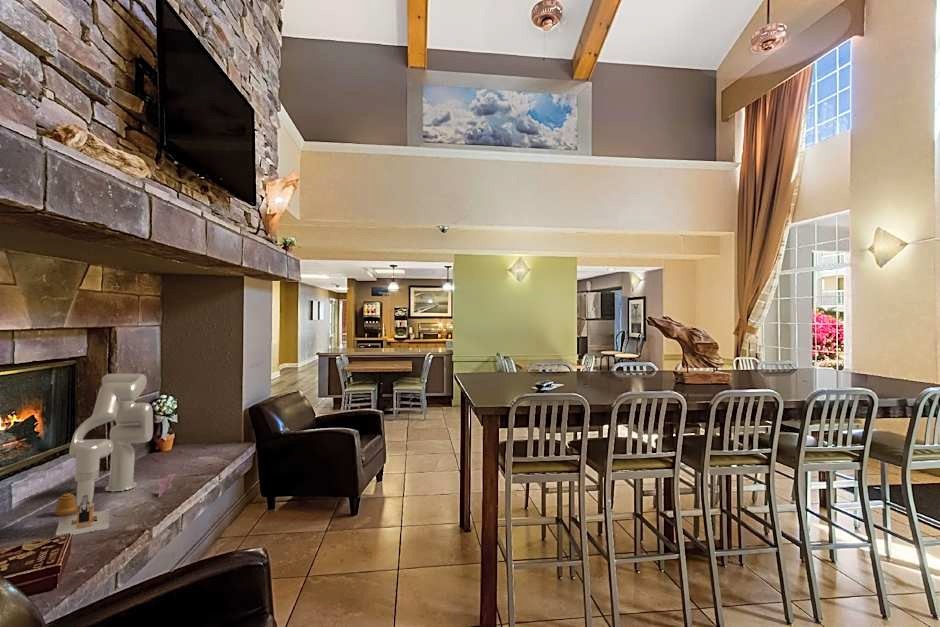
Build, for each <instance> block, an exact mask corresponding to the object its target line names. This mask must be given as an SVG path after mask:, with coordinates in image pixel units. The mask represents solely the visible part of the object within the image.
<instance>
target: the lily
mask: <svg viewBox="0 0 940 627" xmlns="http://www.w3.org/2000/svg"><path fill="white" fill-rule="evenodd" d="M176 474H177V473H173V474H172V472H170V473H169V474H168V475H167V477H166V478H161V479H160V480H159V481H158V486H159V488H158V489H157V491H156V492H155V494H156V495H157V494H158V498H159V497H160V498H161V497H162V495H163V493H164V492H165V490H168V489H173V491H174V492H176V490H175V489H174V487H173V486H172V480H173V479H174V477H175V476H176Z"/></svg>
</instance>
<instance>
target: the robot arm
mask: <svg viewBox="0 0 940 627" xmlns="http://www.w3.org/2000/svg"><path fill="white" fill-rule="evenodd" d="M147 383H148V380H147V376H146V375H145V374H143V373H107V374H105V375H104V376H103V377H102V378H101V384H102V385H101V386H100V387H99V390H98V393H97V398H96V400H95V404H94V408H93V411H92V415H91V416H90V417H89V418H87V419H85V420H84V421H83V422H82V423H81V424H80V425H79V426H78V427H77V428H76V429H75V431H74V433H73V436H72V439H71V442H70V445H69V450H68V452H69V456H70V457H71V459H75V470H74V471H75V472H74V482H77V488H76V498H75V505H76V507H78V506H80V512H79V523H81V522H87V521H89V514H90V511H89V504H91V503H93V499H94V493H95V492H94V491H95V484H96V483H95V482H96V481H95V480H97V479H99V478H100V477H99V476H100V459H103V458H106V457H108V456H109V455H110V463H109V465H110V466H109V467H110V468H109V482H108V485H106V487H104V491H105V492H107V491H122V492H125V491H124V490H127V491H130V490H129V489H131V490H133V489H135V488H137V486H138V484H137V482H136V481H134V475H135V474H134V473H135V459H136V457H135V456H136V455H135V454H136V452H135V448H134V447H133V445H132V444H138V443H139V444H141V443H142V444H143V443H148V442H150V441H151V440H152V438H153V437H154V436H153V434H154V412H153V406H152V404H150V403H149V402H135V401H136V400H137V399H138V398H139V397H140V395H141V394H142V393H143V392H144V390H145V389H146V386H147ZM112 421H114V422H116V423H119V424H116V425H114V426H113V427H111V429H110V431H109V438H108V439H107V438H100V439H99V438H95V439H93V438H91V439H84V438H85V436H86V435H87V433H88V432H89V431H91V430H93V429H95V428H96V427H99V426H102V425H104V424H106V423H110V422H112ZM134 487H135V488H134ZM132 488H133V489H132Z"/></svg>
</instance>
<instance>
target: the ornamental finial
mask: <svg viewBox="0 0 940 627" xmlns="http://www.w3.org/2000/svg"><path fill="white" fill-rule="evenodd" d="M53 513H54V515H55V516H57V517H66V516H71V515H72V514H75V513H77V507H76V496H75V495H74V494H72V493H70V492H69V493H65V494H63V495H61V496H59V498H58V499H57V505H56V508H55V509H54V511H53Z"/></svg>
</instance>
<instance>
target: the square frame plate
mask: <svg viewBox="0 0 940 627" xmlns="http://www.w3.org/2000/svg"><path fill="white" fill-rule="evenodd" d="M110 511H111V510H110V509H105V510H104V509H103V510H99V511H93V522H89V523H83V524H77V525H76V522H77V514H75V515H68V516H62V517H60V519H59V521H58V526H57V528H56V532H55V536H56V535H61V534H65V533H72V534H73V535H72V536H74V535H79V534H85V532H86V533H90V531H92V532H96V531H95V530H97V531H102V530H107V529H109V528H110V527H109V526H110ZM95 520H97V521H95Z"/></svg>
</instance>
